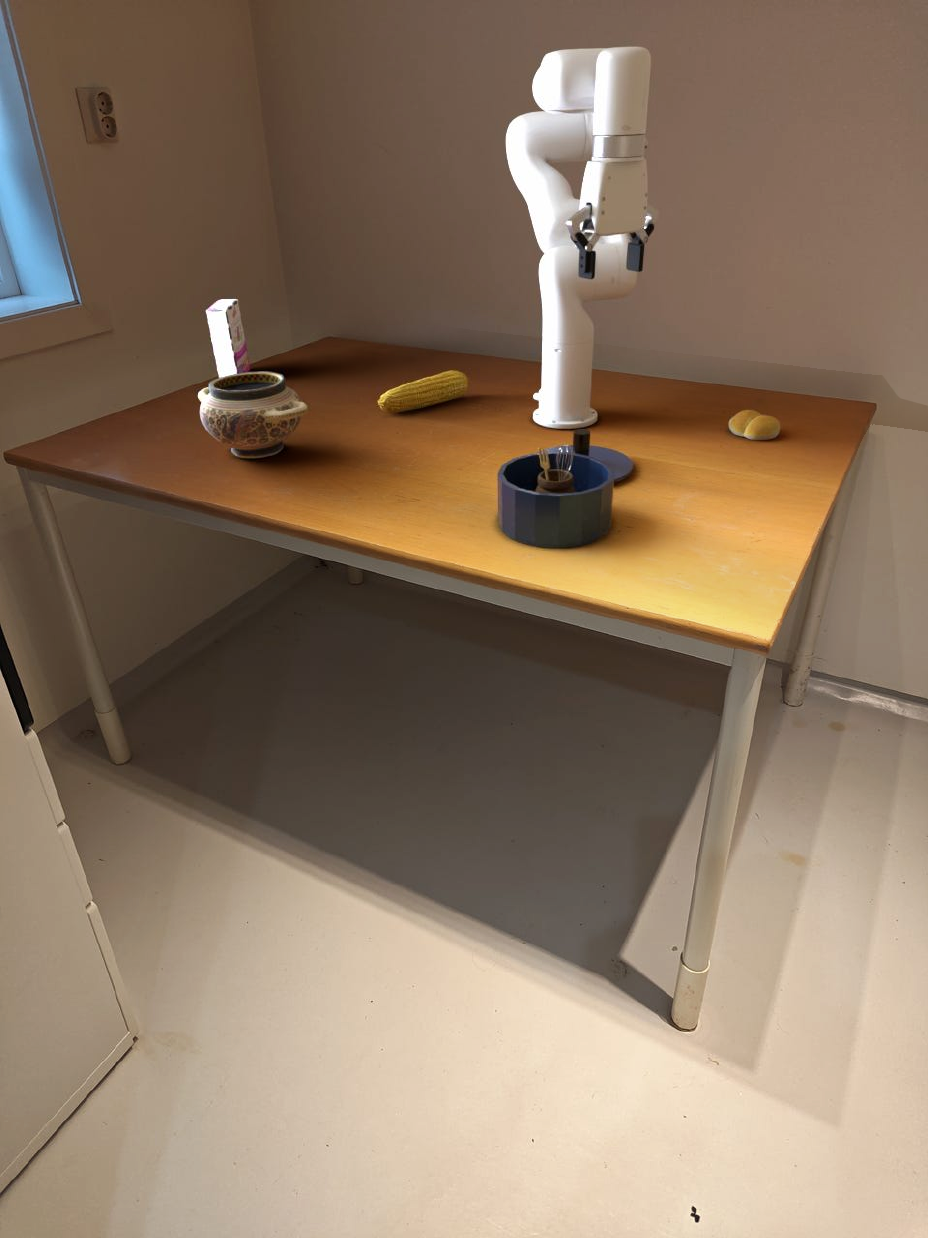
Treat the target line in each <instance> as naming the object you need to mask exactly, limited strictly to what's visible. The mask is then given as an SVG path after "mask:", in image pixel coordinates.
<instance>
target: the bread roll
mask: <svg viewBox="0 0 928 1238" xmlns="http://www.w3.org/2000/svg"><path fill="white" fill-rule="evenodd" d="M728 428H729V431H730V432H731V433H732V434H733V435H736V436H738V437H742V438H743V437H744V438H746V439H748V440H751V441H768V440H772V439H775V438H777V437H778V436H779V434H780V430H781V422H780V421H779V419H777V418H776V417H774V416H771V415H768V414H761V413H759V412H758V411H756V410H753V409H744V410H741V411H739V412H737V413H736V414H735V415H734V416H732V417H731V418H730V419H729V420H728Z"/></svg>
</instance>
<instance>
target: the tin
mask: <svg viewBox="0 0 928 1238" xmlns="http://www.w3.org/2000/svg"><path fill="white" fill-rule="evenodd" d="M544 453H545V452H544ZM557 453H558V454H559V456H558V454H557ZM541 454H542V453H541ZM560 454H561V456H560ZM566 454H567V456H566ZM569 454H570V457H569ZM563 455H564V457H563ZM548 457H549V463H550V468H549V469H547V470H552V469H559V470H565V471H568V469H569V468H570V469H569V471H568V472H570V473H571V474H572V475H573V479H574V483H573V487H574V489H575V493H565V494H552V493H537V492H535V491H536V488H537V486H538V476H539V474H540V473H541V472H543V471H545V470H544V468H542V467H541V464H540V457H539V453H538V452H534V453H528V454H524V455H521V456H518V457H514V458H511V459H510V460H508V461H506V462H504V463H503V464H501V466H500V468H499V470H498V472H497V475H496V477H497V479H496V480H497V481H496V482H497V487H496V488H497V522H498V526H499V527H498V528H499V529H500V531H501V532H502V533H503V534H504V535H505V536H506V537H508V538H509V539H511V540H513V541H516V542H517V543H521V544H523V545H527V546H532V547H537V548H545V549H563V548H564V549H566V548H574V547H581V546H585V545H588V544H591V543H595V542H596V541H599V540H600V539H602V538H604V537H605V536H606V535H607V534H608V533H609V531H610V530H611V529H610V528H611V522H612V517H613V516H612V513H613V500H614V488H615V482H614V475H615V472H614V471H613V469H612V468H611V467H610V466H609V465H608V464H607V463H605V462H603V461H600V460H598V459H596V458H594V457H590V456H585V455H581V454H576V453H572V457H573V459H572V457H571V453H565V452H548ZM556 458H557V460H556ZM545 459H546V453H545ZM542 460H543V455H542ZM559 460H560V463H559ZM565 461H566V463H565ZM568 461H569V463H568ZM546 462H547V460H546ZM557 462H558V463H557ZM562 462H563V464H562ZM570 462H571V463H572V464H570ZM567 465H568V466H567ZM556 466H557V468H556ZM569 466H571V467H569ZM564 467H565V468H564ZM566 468H567V469H566Z"/></svg>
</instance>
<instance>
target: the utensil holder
mask: <svg viewBox="0 0 928 1238" xmlns="http://www.w3.org/2000/svg"><path fill="white" fill-rule="evenodd" d="M568 445H569V444H564V445H563V444H562V446H564V447H566V446H568ZM564 447H563V448H564ZM568 447H569V448H570V446H568ZM560 448H561V447H560ZM560 448H559V449H560ZM571 449H572V448H571ZM537 450H538V452H539V457H540V464H541V467H542V468H544V470H545V471H543V472H541V473H540V474H539V476H538V486H537V488H536V491H535V492H537V493H552V494H565V493H575V489H574V487H573V483H574V479H573V475H572V474H571V473H570V472H568V471H569V469H570V468H569V469H568V471H565V470H559V469H552V470H547V469H549V468H550V463H549V457H548V452H547V450H545V449H544V448H541V447H538V448H537ZM544 450H545V453H546V459H545V453H544ZM541 451H542V454H541ZM558 451H560V450H558ZM564 451H565V449H564ZM572 451H573V450H572ZM572 451H571V457H572ZM561 452H562V451H561ZM557 454H558V453H557ZM542 455H543V460H542ZM558 456H559V454H558ZM560 456H561V454H560ZM566 456H567V454H566ZM563 457H564V455H563ZM569 457H570V454H569ZM572 459H573V457H572ZM546 460H547V462H546ZM556 460H557V458H556ZM557 463H558V462H557ZM559 463H560V460H559ZM565 463H566V461H565ZM568 463H569V461H568ZM562 464H563V462H562ZM570 464H572V463H571V462H570ZM567 466H568V465H567ZM569 467H571V466H569ZM556 468H557V466H556ZM564 468H565V467H564ZM566 469H567V468H566Z"/></svg>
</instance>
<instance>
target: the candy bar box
mask: <svg viewBox="0 0 928 1238" xmlns="http://www.w3.org/2000/svg"><path fill="white" fill-rule="evenodd" d="M240 308H241V307H240V302H239V299H238V298H237V299H236V298H231V299H230V298H228V299H218V300H217V301H216V302H214V303H213V304H212V305H211V306H210V307H208V308H207V309H206V310H205V313H206V318H207V319H206V320H207V324H208V328H209V333H210V338H211V343H212V349H213V354H214V359H215V365H216V370H217V374H218V378H220V377H224V376H228V375H233V374H238V373H246V372H250V370H251V366H250V365H251V364H250V359H249V354H248V348H247V342H246V337H245V330H244V326H243V325H244V324H243V319H242V314H241V309H240Z"/></svg>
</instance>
